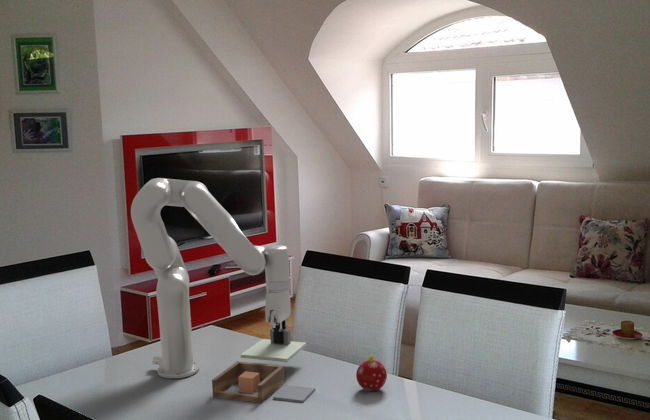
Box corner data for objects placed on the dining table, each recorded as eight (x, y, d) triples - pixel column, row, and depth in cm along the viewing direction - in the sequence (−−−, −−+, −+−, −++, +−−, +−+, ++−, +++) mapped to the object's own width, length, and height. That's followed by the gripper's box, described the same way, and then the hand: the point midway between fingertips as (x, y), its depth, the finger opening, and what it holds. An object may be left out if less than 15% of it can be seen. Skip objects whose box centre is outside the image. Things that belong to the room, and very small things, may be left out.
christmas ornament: (350, 391, 201) (349, 357, 200) (367, 382, 208) (366, 348, 207) (376, 398, 196) (375, 363, 195) (392, 388, 203) (392, 354, 202)
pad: (273, 399, 198) (273, 396, 198) (286, 386, 207) (286, 384, 206) (303, 402, 195) (303, 400, 195) (315, 390, 203) (315, 388, 203)
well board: (212, 396, 201) (211, 379, 201) (238, 377, 215) (237, 361, 215) (262, 402, 196) (261, 385, 195) (284, 382, 210) (284, 365, 209)
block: (239, 392, 204) (238, 376, 204) (246, 386, 209) (245, 371, 208) (253, 393, 203) (252, 378, 202) (260, 387, 207) (259, 372, 206)
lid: (240, 357, 217) (239, 340, 216) (262, 341, 231) (261, 325, 230) (287, 362, 212) (286, 344, 211) (306, 345, 226) (305, 328, 225)
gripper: (277, 278, 232) (279, 333, 235) (256, 290, 217) (258, 349, 220) (298, 279, 229) (301, 335, 232) (278, 292, 215) (281, 351, 217)
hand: (280, 341), depth 226 cm, fingers closed on lid, 2 cm apart
